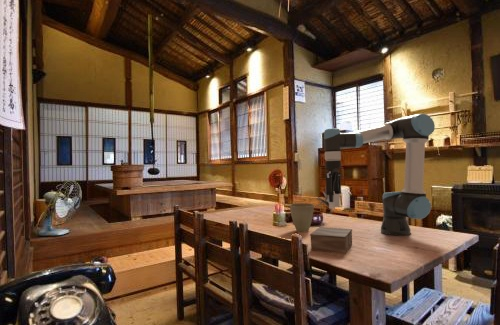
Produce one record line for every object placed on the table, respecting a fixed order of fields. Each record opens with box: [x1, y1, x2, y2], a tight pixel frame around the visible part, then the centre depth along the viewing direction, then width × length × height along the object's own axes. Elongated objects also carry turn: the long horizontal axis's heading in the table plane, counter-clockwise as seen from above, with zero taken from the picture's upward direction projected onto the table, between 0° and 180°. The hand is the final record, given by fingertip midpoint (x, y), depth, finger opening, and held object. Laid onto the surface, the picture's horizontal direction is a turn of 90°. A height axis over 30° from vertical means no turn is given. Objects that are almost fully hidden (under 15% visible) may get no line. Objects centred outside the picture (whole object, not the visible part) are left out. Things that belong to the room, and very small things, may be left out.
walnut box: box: [309, 226, 353, 255], centre depth 144 cm, size 16×16×8 cm
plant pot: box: [289, 202, 315, 233], centre depth 181 cm, size 15×15×16 cm
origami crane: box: [314, 184, 329, 208], centre depth 146 cm, size 11×10×10 cm
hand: (334, 207), depth 143 cm, fingers closed on origami crane, 5 cm apart
